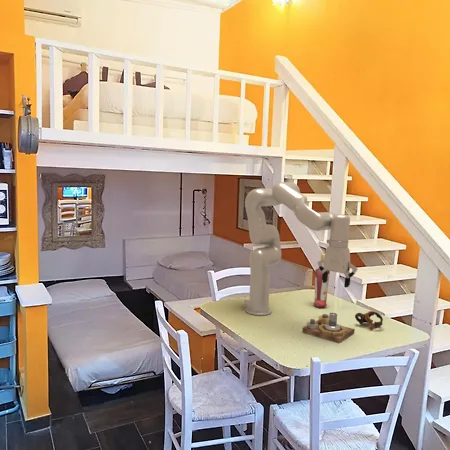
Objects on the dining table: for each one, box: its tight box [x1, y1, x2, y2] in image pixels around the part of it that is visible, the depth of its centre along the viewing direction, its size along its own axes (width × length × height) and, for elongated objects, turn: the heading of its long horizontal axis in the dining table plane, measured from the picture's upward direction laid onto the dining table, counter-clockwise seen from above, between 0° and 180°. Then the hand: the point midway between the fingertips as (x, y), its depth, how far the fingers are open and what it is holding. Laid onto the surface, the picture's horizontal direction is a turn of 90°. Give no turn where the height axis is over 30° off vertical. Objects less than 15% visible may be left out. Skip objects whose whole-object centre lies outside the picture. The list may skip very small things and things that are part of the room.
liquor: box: [313, 252, 331, 309], centre depth 224 cm, size 7×7×28 cm
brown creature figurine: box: [354, 310, 384, 331], centre depth 197 cm, size 12×10×8 cm
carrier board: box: [301, 313, 355, 344], centre depth 188 cm, size 17×15×6 cm
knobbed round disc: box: [325, 312, 340, 332], centre depth 185 cm, size 6×6×7 cm
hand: (335, 284), depth 183 cm, fingers open, 9 cm apart
